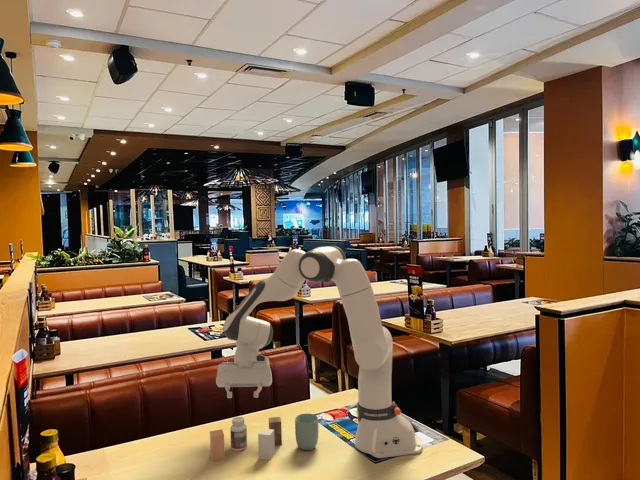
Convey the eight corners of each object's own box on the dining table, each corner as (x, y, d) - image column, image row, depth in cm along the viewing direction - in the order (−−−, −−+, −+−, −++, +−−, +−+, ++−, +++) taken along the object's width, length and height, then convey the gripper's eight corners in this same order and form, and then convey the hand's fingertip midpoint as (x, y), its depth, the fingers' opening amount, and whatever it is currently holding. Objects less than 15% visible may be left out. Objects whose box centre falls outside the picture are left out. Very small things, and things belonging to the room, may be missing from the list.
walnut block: (280, 439, 165) (280, 416, 164) (281, 444, 161) (281, 421, 160) (269, 440, 164) (268, 417, 163) (270, 445, 160) (269, 422, 159)
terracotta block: (222, 453, 156) (221, 429, 155) (224, 458, 152) (223, 434, 152) (210, 455, 154) (209, 431, 154) (212, 461, 151) (211, 436, 150)
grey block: (274, 453, 155) (274, 429, 154) (270, 459, 151) (269, 435, 150) (263, 452, 156) (262, 428, 155) (258, 458, 152) (258, 433, 151)
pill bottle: (230, 444, 161) (229, 416, 161) (246, 442, 162) (245, 414, 162) (231, 452, 156) (230, 423, 155) (247, 450, 157) (247, 421, 157)
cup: (316, 454, 154) (315, 424, 153) (293, 452, 155) (292, 422, 155) (320, 442, 161) (320, 414, 161) (298, 441, 163) (298, 412, 162)
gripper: (216, 358, 175) (211, 394, 166) (272, 357, 175) (270, 392, 166) (219, 366, 180) (214, 401, 171) (273, 365, 180) (271, 400, 171)
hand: (242, 397), depth 168 cm, fingers open, 8 cm apart
